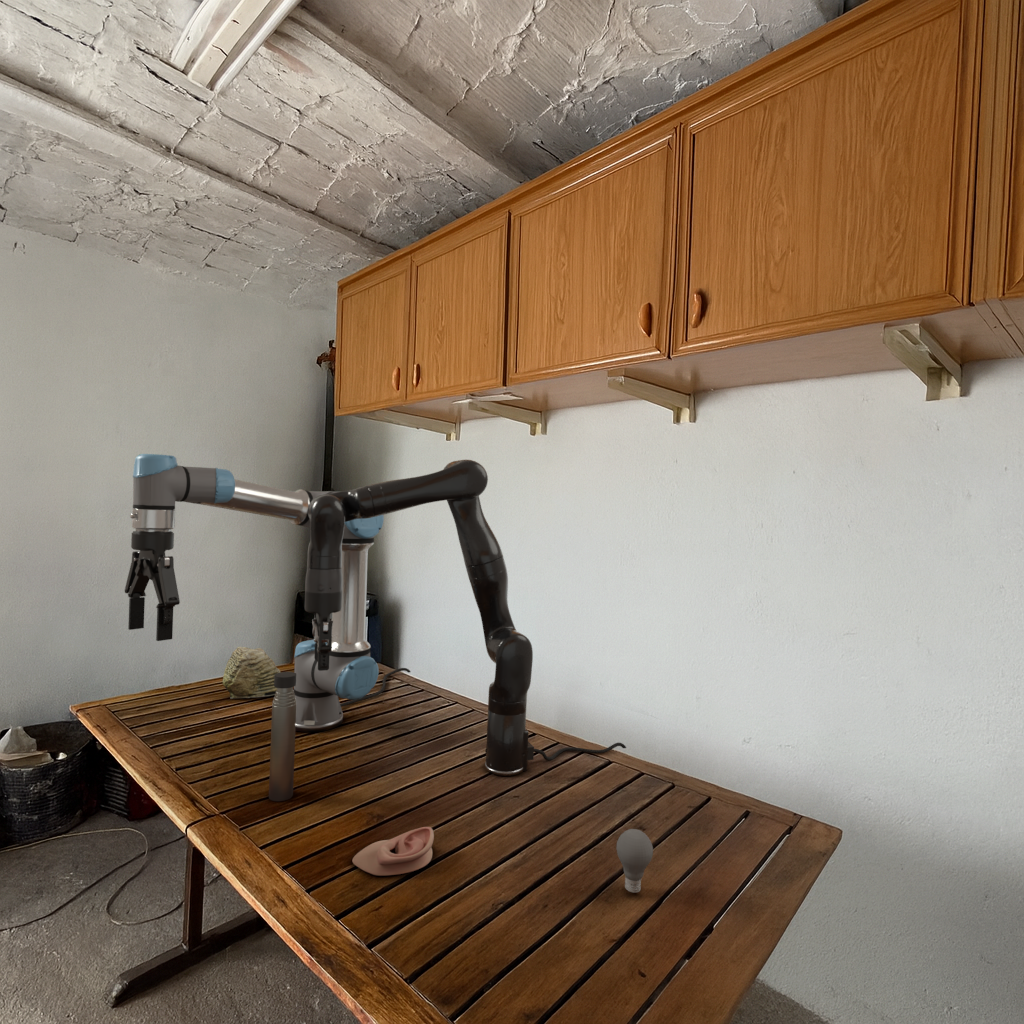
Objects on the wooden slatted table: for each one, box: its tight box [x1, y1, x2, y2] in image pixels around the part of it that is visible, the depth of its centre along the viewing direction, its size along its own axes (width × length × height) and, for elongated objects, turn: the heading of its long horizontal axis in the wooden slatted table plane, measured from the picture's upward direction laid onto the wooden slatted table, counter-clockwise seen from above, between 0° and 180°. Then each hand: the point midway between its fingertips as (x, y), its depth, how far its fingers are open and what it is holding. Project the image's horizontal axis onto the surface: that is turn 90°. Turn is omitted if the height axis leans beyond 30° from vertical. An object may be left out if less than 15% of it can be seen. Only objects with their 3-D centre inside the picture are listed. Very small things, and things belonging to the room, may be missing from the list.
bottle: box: [268, 687, 296, 802], centre depth 133 cm, size 5×5×25 cm
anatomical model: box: [351, 826, 435, 877], centre depth 112 cm, size 13×4×12 cm
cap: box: [274, 671, 296, 688], centre depth 133 cm, size 4×4×2 cm
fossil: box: [222, 646, 281, 699], centre depth 198 cm, size 9×18×15 cm, turn 132°
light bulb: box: [615, 828, 654, 894], centre depth 106 cm, size 6×6×10 cm
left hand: (149, 634), depth 129 cm, fingers open, 13 cm apart
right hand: (321, 664), depth 134 cm, fingers open, 8 cm apart
